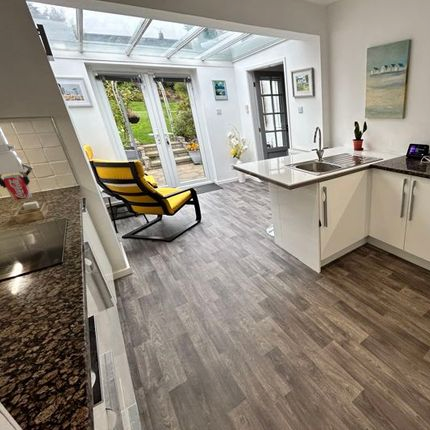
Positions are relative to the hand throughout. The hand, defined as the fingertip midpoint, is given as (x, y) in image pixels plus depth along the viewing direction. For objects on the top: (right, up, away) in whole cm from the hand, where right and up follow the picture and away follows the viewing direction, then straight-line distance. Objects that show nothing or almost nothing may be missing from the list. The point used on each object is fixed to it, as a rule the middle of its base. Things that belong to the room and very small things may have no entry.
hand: (16, 185), depth 130 cm
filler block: (-5, -14, +13) cm, 20 cm away
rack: (-2, -16, +10) cm, 19 cm away
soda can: (0, -7, +3) cm, 7 cm away
